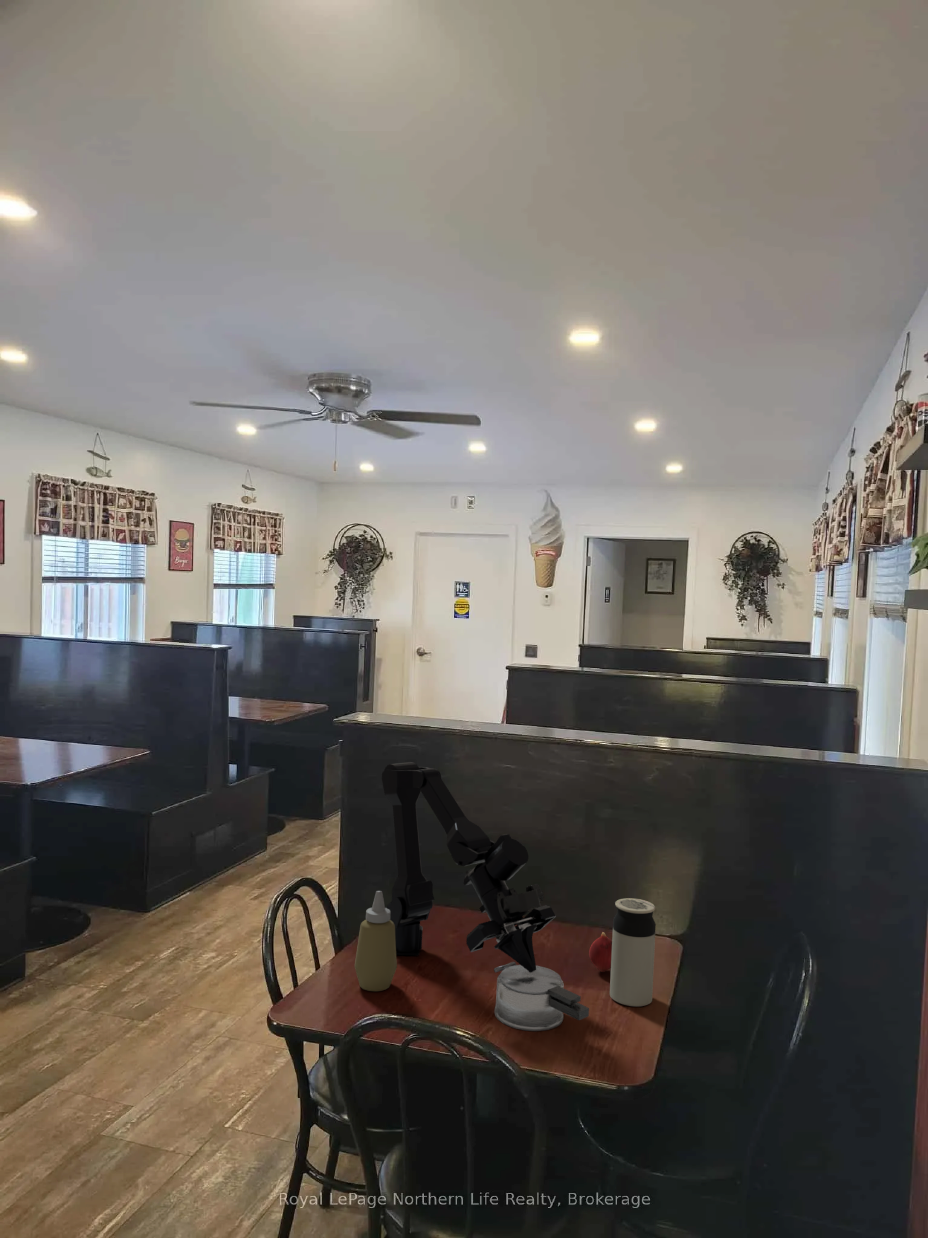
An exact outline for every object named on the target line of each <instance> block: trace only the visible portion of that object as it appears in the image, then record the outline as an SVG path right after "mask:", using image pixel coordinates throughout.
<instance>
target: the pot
mask: <svg viewBox="0 0 928 1238" xmlns="http://www.w3.org/2000/svg"><path fill="white" fill-rule="evenodd" d="M500 975H501V973H499V974H498V976H497V979H496V998H495V1006H494V1016H495V1018H496V1019H497V1020H498V1021H499V1022H500V1023H502V1024H503V1025H505V1026H507V1027H510V1028H511V1029H516V1030H521V1031H527V1032H543V1031H548V1030H552V1029H555V1028H557V1027H559V1026H560V1025H561V1024H562V1022H564V1021H563V1020H564V1014H565V1015H567V1016H569V1017H571V1018H573V1019H575V1020H576V1021H581V1020H583V1019H585V1018H588V1017H589V1016H590V1008H589V1007H588V1006H587V1005H586V1006H585V1005H584V1004H581V1003H579V1002H577V1003H574V1004H572V1005H570V1004H567V1003H565V1002H563V1001H561V1000H559V999H557V998H555V997H553V996H551V995H549V994H544V995H528V994H522V993H518V992H515V991H512V990H510V989H508V988H506V987H505V986H504V985H502V983H501V981H500ZM561 987H562V988H564V981H563V980H562V979H561ZM564 989H565V988H564Z"/></svg>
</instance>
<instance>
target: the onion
mask: <svg viewBox="0 0 928 1238" xmlns="http://www.w3.org/2000/svg"><path fill="white" fill-rule="evenodd" d="M588 956H589V960H590V961H591V962H590V963H592V964H593V966H594V967H595V968H596V969H597V970H598V971H599V972H601V973H605V972H606V971H608V970H611V957H612V939H611V938H609V937H608V936H607V934H606V933H605V932H603V931H602V932H601V934H600V936H599V937H597V938H596V939H595V940H594V941H593V942H592V943H591V945H590V947H589V950H588Z"/></svg>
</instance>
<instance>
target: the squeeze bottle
mask: <svg viewBox="0 0 928 1238" xmlns="http://www.w3.org/2000/svg"><path fill="white" fill-rule="evenodd" d="M373 898H374V899H373V903H372V905H371V906H372V907H369V908H367V909H366V911H365V919H364V920H363V921H362V922H360V927H359V933H358V941H357V947H356V953H355V960H354V969H355V973H356V978H357V979H358V980H357V981H358V984H359V987H360V988H361V989H362V990H365V991H368V992H382V991H384V990H387V989H389V988H390V987H391V983H392V981H393V979H394V976H395V974H396V971H397V968H398V966H397V964H398V963H397V955H396V941H395V925H394V923H393V922H392V921H391V920H390V910H389V909H387V908H386V906H385V900H384V895H383V891H382V890H376V891H375V895H374V897H373Z"/></svg>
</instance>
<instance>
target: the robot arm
mask: <svg viewBox="0 0 928 1238" xmlns="http://www.w3.org/2000/svg"><path fill="white" fill-rule="evenodd" d="M381 781H382V787H383V792H384V793H383V794H384V795H385V797H386V799H388V801H389V803H390V804H391V806H392V812H393V815H392V816H393V827H394V836H395V837H394V838H395V849H396V851H395V852H396V863H397V864H396V865H397V877H396V879H395V882H394V884H393V886H392V888H391V901H390V902H389V903H388V904H387V905H386V906H385V908H387V909H389V910H390V920H391V921H392V922H393V923H394V925H395V941H396V956H397V955H398V956H420V951H421V950H422V949H423V948H422V947H423V926H422V925H421V922H422V921H428V918H429V915H430V913H431V910H432V908H433V904H434V902H433V901H434V900H435V896H434V890H433V889H434V888H433V886H434V885H433V881H432V880H427V878H426V877H425V875H424V874H423V873H422V862H421V850H420V838H419V827H418V814H417V802H418V800H419V797H420V795H421V794H422V796H423V797H424V798H425V800H426V802H427V803H428V806H429V807H430V808H431V810H432V812H433V813H434V815H435V816H436V818H437V820H438V822H439V823H440V825H441V826H442V828H443V830H444V831H445V834H446V846H447V848H448V850H449V853H450V855H451V858H452V860H453V861H454V863H455V864H456V865H458V866H459V867H460V866H462V867H467V866H470V865H475V864H477V865H475V866H474V867H473V868H472V869H467V870H465V875H464V878H463V882H462V884H463V886H468V885H472V887H473V888H474V890H475V892H476V894H477V896H478V898H479V900H480V902H481V904H482V905H481V906H480V907H479V910H480V913H482V914H483V913H486V914H487V917H488V919H489V920H488V921H484V922H481V923H478V924H477V925H476V926H475V928H473V929H472V930H471V931H470V932H469V933H468V934H467V935H466V940H465V941H466V944H465V945H466V946H467V947H468V950H469V952H470V953H473V952H476V951H479V950H480V951H481V950H482V949H483V948H484V945H485V941H487V940H491V939H494V938H495V939H496V942H497V943H496V944H495V945H494V946H493V948H494V949H495V950H499V951H501V952H503V953H504V954H505V955H507V956H508V957H510V958H511V959H513V960H514V962H515V963H518V965H521V966H523V967H524V968H525V969H526V970H528V971H529V972H530V973H531V972H534V971H535V970H536V966H537V964H536V957H535V951H534V946H533V945H534V944H533V936H534V934H535V933H538V932H539V931H542V930H543V929H544V928H545V927H546V926H547V925H548V924H549V923H551V922H552V921H553V920H554V919H555V918H556V917H557V916H556V914H555V912H554V910H553V908H552V907H551V906H550V905H546V904H545V905H541V902H542V901H544V899H545V895H544V892H543V890H542V888H541V887H540V885H539V884H538V883H535V884H532V885H527V886H526V887H525V888H526V889H525V892H521V893H518V892H517V890H516V889H515V888H514V887H513V888H509V887H508V886H507V884H506V883H507V882H506V881H509V880H510V879H511V878H513V877H514V876H515V875H516V874H517V873H518V872H519V871H520V870H521V869H522V868H523V867H524V866H525V865H526V864H527V863H528V861H529V853H528V849H527V848H526V846H524V844H522V843H521V842H520V841H518V840H516V839H514V838H512V836H511V835H510V833H505V834H501V835H500V836H499V837H498V838H497V840H496V841H493V840H491V839H490V838H489V836H488V835H487V833H485V831H483V829H482V828H481V827H480V826H479V825H477V824H476V823H474V822H472V821H471V820H469V818H467V816H466V815H465V814H464V812H463V810H462V809H461V807H460V805H459V804H458V803H457V801H456V799H455V798H454V796H453V795H452V793H451V792H450V790H449V788H448V787H447V785H446V784H445V782H444V781H443V779H442V775H441V772H440V771H439V769H438V768H437V769H436V768H435V767H432V768H430V767H426V766H419V765H418V764H416V763H415V762H411V761H408V762H399V763H390V764H387V765H386V766H385V768H384V770H383V771H382V772H381ZM531 909H532V910H531ZM529 911H530V912H529ZM523 916H524V917H523Z"/></svg>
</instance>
